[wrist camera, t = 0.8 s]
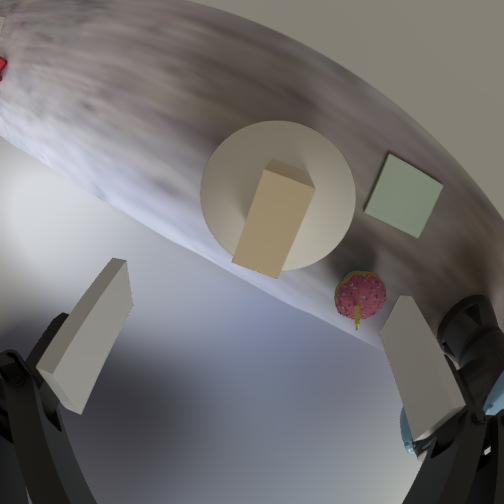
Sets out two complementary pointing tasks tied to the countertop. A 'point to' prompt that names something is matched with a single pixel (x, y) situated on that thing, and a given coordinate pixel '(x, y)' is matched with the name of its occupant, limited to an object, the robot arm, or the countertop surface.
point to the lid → (277, 196)
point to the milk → (2, 23)
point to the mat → (403, 196)
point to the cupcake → (360, 295)
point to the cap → (2, 64)
